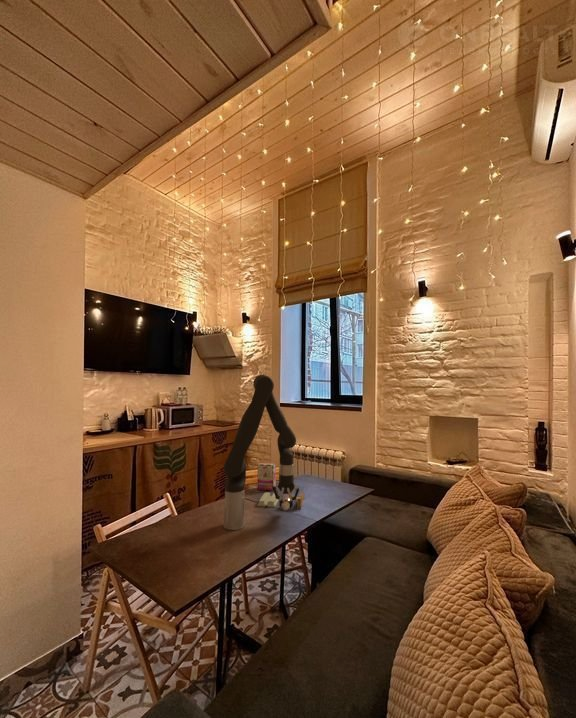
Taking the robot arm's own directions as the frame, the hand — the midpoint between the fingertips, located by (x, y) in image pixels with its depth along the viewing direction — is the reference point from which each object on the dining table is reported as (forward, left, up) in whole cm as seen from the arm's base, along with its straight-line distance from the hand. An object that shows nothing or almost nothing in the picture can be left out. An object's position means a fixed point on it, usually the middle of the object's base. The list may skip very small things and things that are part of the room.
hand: (286, 507), depth 165 cm
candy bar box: (-21, +46, -7) cm, 51 cm away
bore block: (+1, +24, -6) cm, 25 cm away
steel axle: (0, +4, 0) cm, 4 cm away
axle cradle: (-14, +24, -6) cm, 29 cm away
